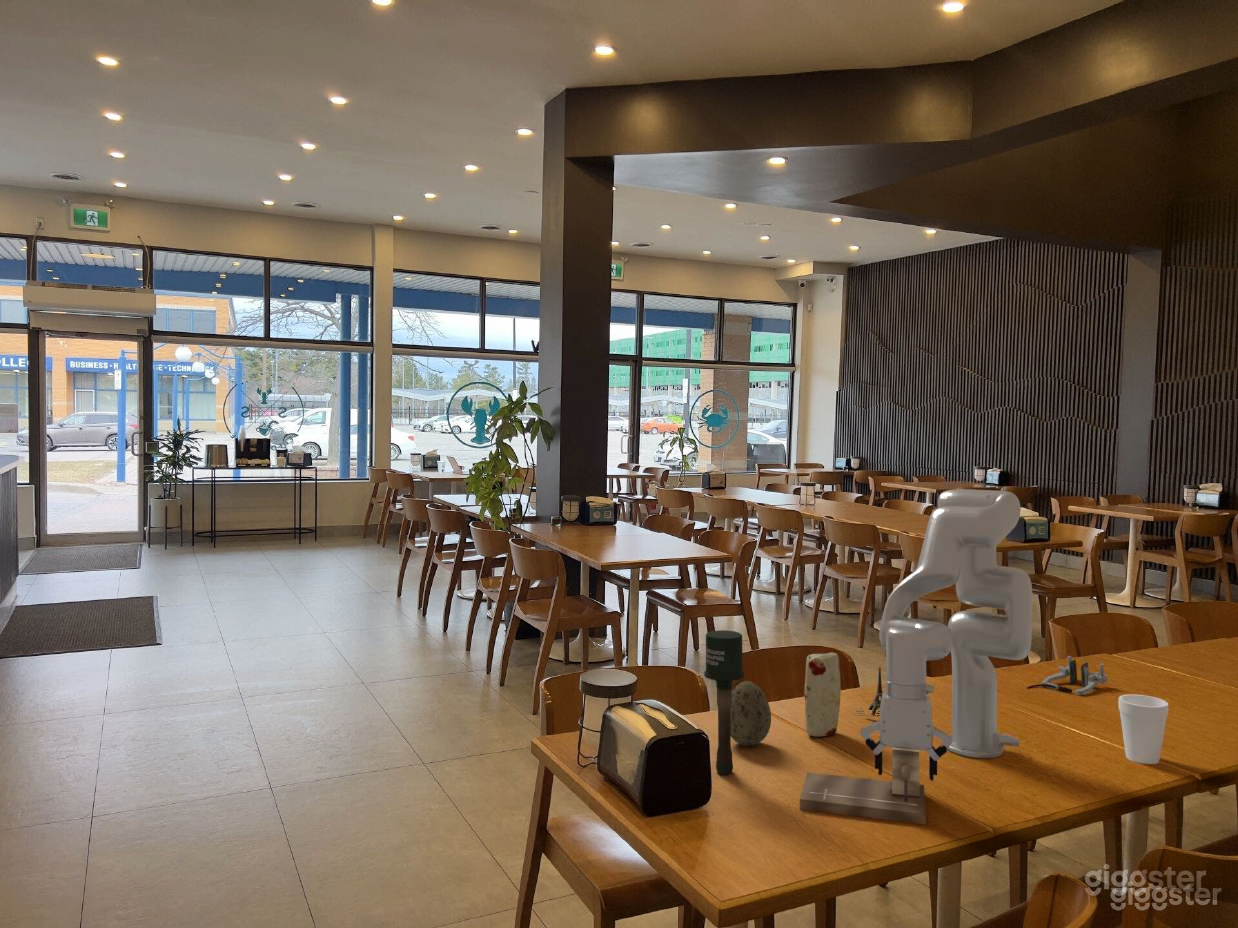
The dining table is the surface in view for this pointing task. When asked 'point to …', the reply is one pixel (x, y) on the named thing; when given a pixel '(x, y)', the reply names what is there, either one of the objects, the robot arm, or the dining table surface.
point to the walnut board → (860, 798)
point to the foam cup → (1143, 726)
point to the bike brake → (1075, 678)
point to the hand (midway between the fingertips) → (905, 775)
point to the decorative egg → (749, 714)
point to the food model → (822, 694)
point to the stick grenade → (724, 686)
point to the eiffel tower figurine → (876, 702)
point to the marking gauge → (905, 772)
